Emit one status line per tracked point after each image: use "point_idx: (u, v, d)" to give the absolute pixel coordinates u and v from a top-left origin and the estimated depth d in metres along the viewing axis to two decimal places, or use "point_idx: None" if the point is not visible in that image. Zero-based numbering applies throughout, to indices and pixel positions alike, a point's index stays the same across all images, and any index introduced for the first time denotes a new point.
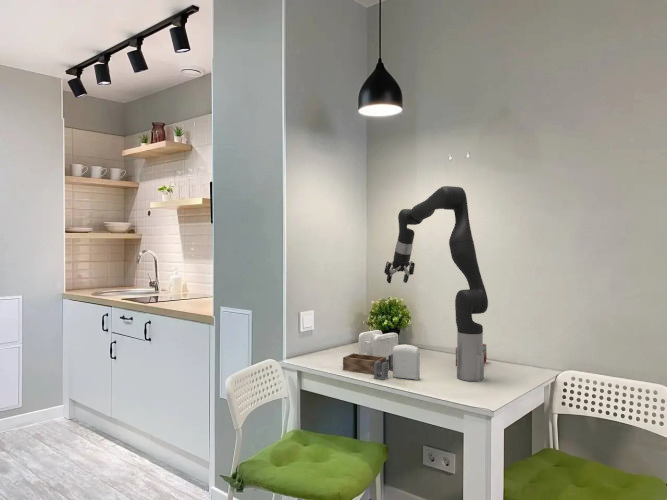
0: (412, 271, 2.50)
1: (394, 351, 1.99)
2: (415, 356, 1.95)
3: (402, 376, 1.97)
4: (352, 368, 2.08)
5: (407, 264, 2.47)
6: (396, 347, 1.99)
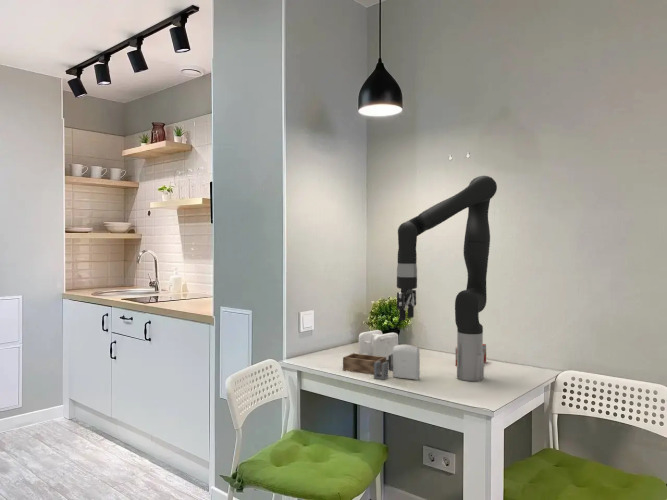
0: (415, 301, 2.03)
1: (394, 351, 1.99)
2: (415, 356, 1.95)
3: (402, 376, 1.97)
4: (352, 368, 2.08)
5: (412, 292, 2.00)
6: (396, 347, 1.99)
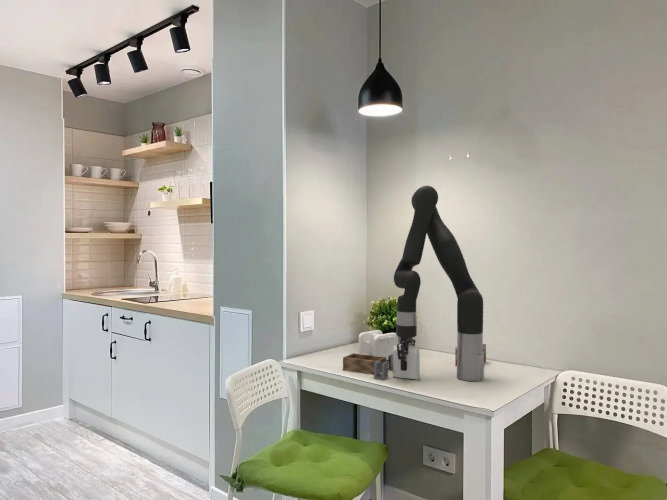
0: None
1: (394, 351, 1.99)
2: (415, 356, 1.95)
3: (402, 376, 1.97)
4: (352, 368, 2.08)
5: (411, 339, 2.01)
6: (396, 347, 1.99)
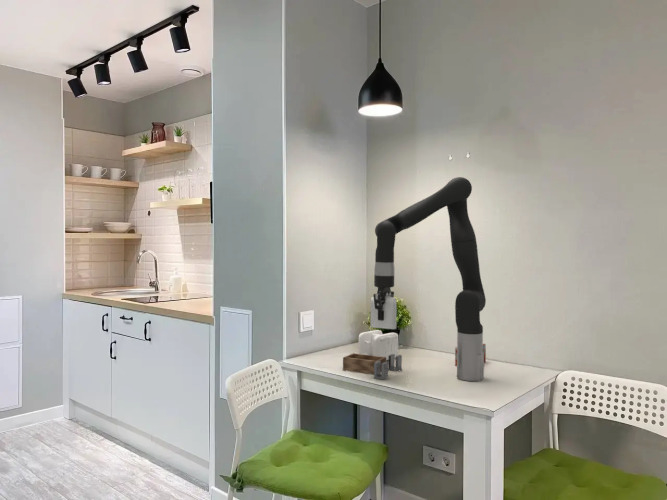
0: None
1: (371, 301, 2.01)
2: (392, 305, 1.97)
3: (379, 326, 1.99)
4: (352, 368, 2.08)
5: (390, 290, 2.02)
6: (373, 297, 2.01)
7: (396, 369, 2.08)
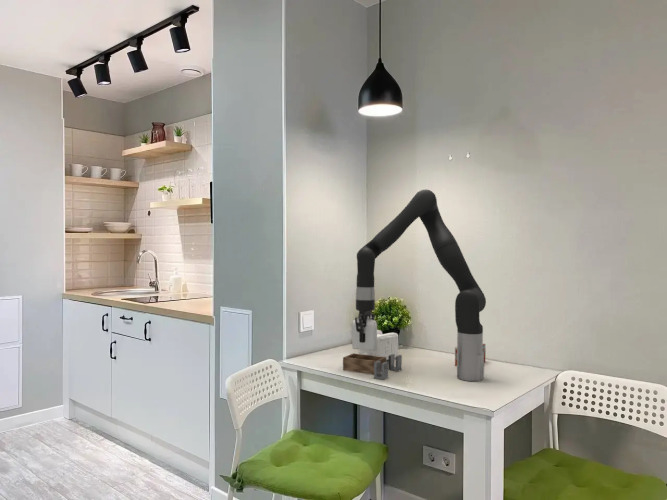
0: None
1: (353, 324, 2.10)
2: (372, 328, 2.06)
3: (360, 348, 2.09)
4: (352, 368, 2.08)
5: (370, 313, 2.12)
6: None
7: (396, 369, 2.08)
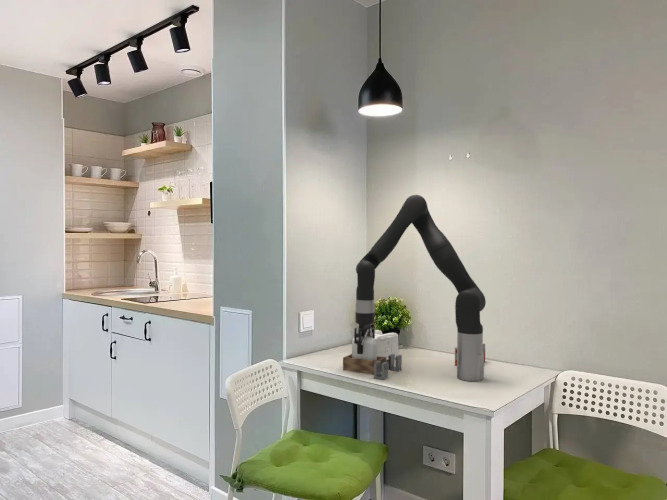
0: (374, 334, 2.15)
1: (353, 342, 2.10)
2: (372, 346, 2.06)
3: None
4: (352, 368, 2.08)
5: (370, 326, 2.12)
6: None
7: (396, 369, 2.08)
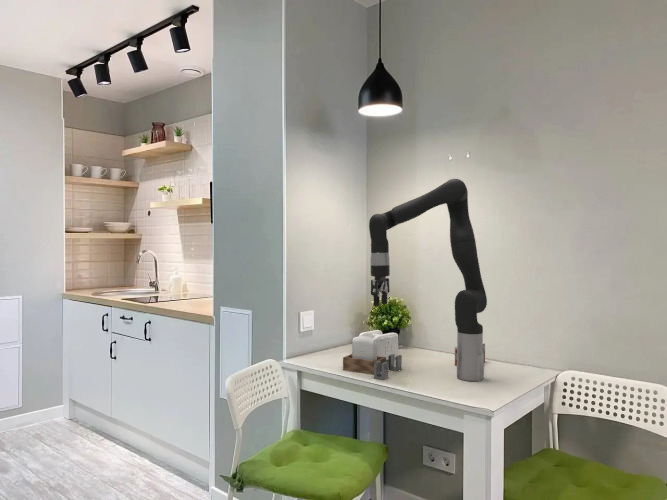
0: (388, 288, 2.16)
1: (353, 342, 2.10)
2: (372, 346, 2.06)
3: None
4: (352, 368, 2.08)
5: (385, 280, 2.13)
6: (355, 338, 2.10)
7: (396, 369, 2.08)
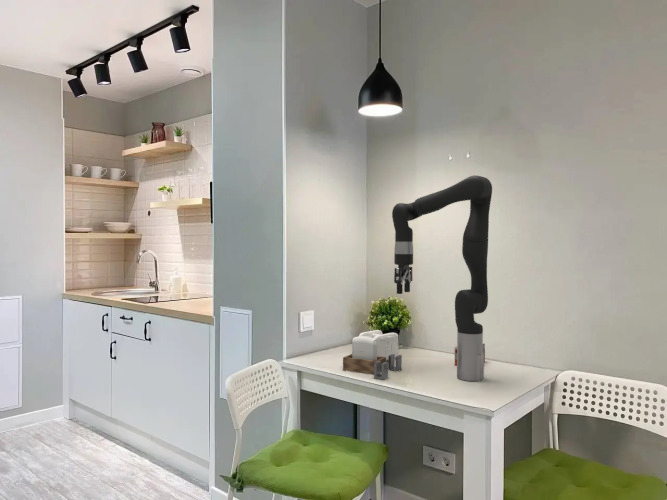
0: (411, 277, 2.20)
1: (353, 342, 2.10)
2: (372, 346, 2.06)
3: None
4: (352, 368, 2.08)
5: (408, 268, 2.17)
6: (355, 338, 2.10)
7: (396, 369, 2.08)
